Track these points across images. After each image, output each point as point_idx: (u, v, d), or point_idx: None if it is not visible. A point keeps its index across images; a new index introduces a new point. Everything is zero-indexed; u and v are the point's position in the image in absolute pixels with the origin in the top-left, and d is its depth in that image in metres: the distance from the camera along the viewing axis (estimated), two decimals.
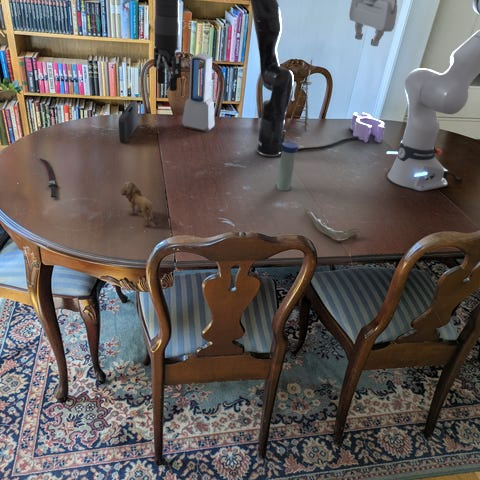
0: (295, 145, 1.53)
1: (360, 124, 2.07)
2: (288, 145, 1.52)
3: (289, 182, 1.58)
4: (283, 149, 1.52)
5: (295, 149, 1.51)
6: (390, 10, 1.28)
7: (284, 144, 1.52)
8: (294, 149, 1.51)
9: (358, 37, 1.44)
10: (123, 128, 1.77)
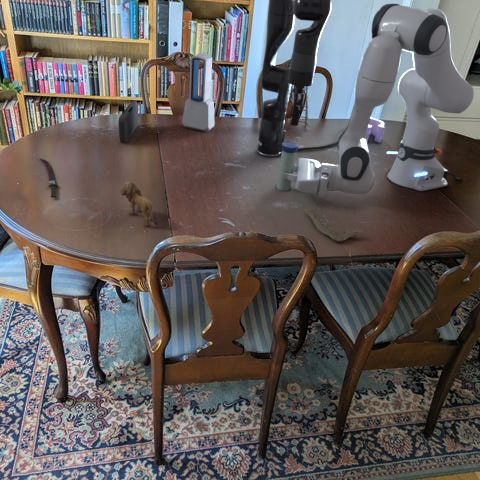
0: (295, 145, 1.53)
1: None
2: (288, 145, 1.52)
3: (289, 182, 1.58)
4: (283, 149, 1.52)
5: (295, 149, 1.51)
6: None
7: (284, 144, 1.52)
8: (294, 149, 1.51)
9: None
10: (123, 128, 1.77)
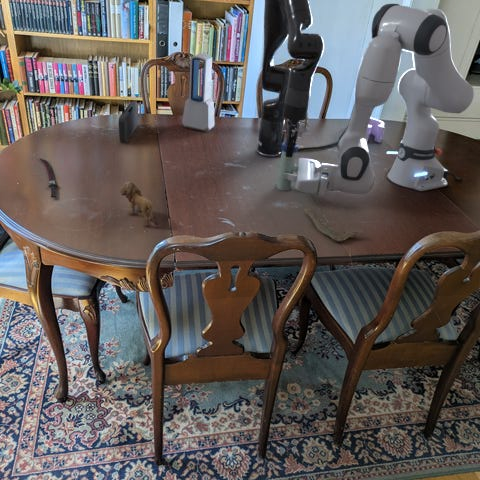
0: None
1: None
2: None
3: (289, 182, 1.58)
4: (283, 149, 1.52)
5: (295, 149, 1.51)
6: None
7: (284, 144, 1.52)
8: (294, 149, 1.51)
9: None
10: (123, 128, 1.77)
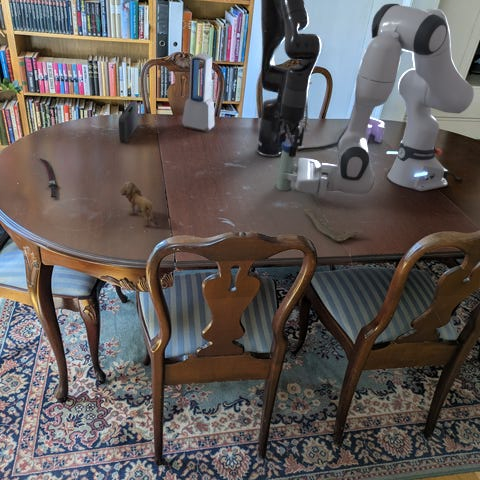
0: None
1: None
2: None
3: (289, 182, 1.58)
4: None
5: None
6: None
7: (289, 146, 1.51)
8: None
9: None
10: (123, 128, 1.77)
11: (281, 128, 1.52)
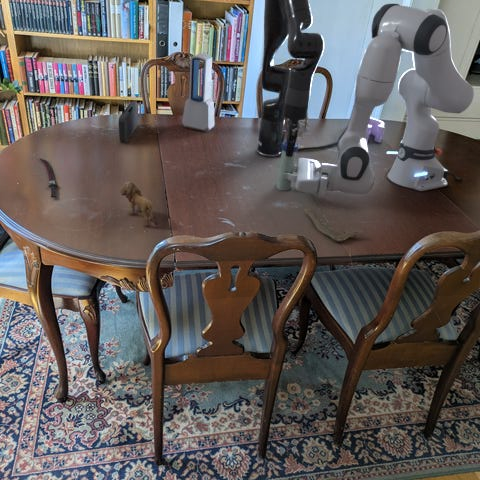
0: None
1: None
2: None
3: (289, 182, 1.58)
4: None
5: None
6: None
7: None
8: None
9: None
10: (123, 128, 1.77)
11: None
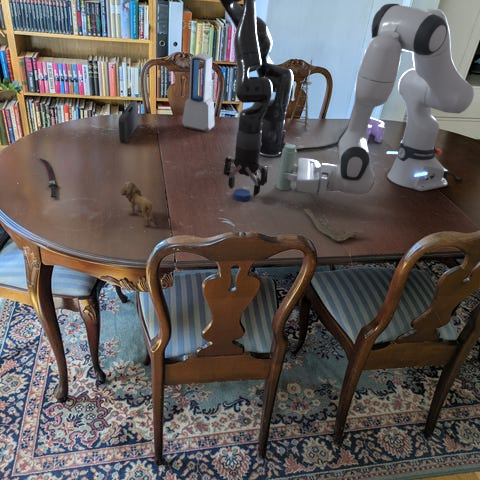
0: (238, 190, 1.52)
1: None
2: (245, 192, 1.52)
3: (289, 182, 1.58)
4: (249, 196, 1.52)
5: None
6: None
7: (246, 194, 1.50)
8: None
9: None
10: (123, 128, 1.77)
11: (235, 171, 1.47)
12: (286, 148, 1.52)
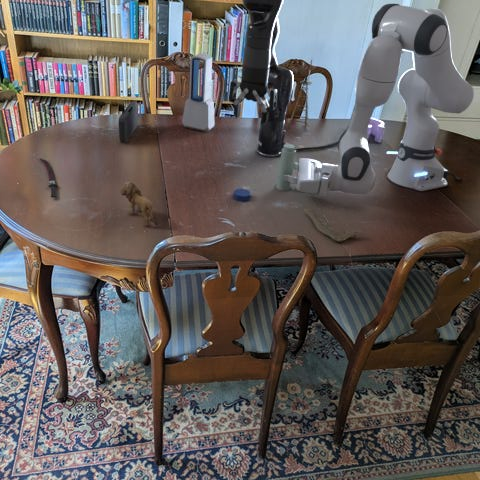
0: (238, 190, 1.52)
1: None
2: (245, 192, 1.52)
3: (289, 182, 1.58)
4: (249, 196, 1.52)
5: None
6: None
7: (246, 194, 1.50)
8: None
9: None
10: (123, 128, 1.77)
11: (241, 96, 1.34)
12: (285, 148, 1.52)
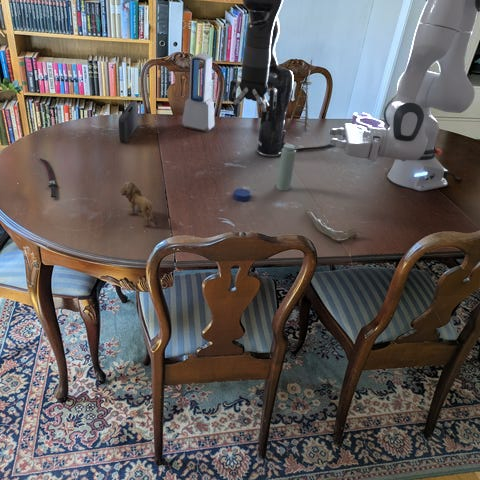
0: (238, 190, 1.52)
1: (360, 124, 2.07)
2: (245, 192, 1.52)
3: (289, 182, 1.58)
4: (249, 196, 1.52)
5: None
6: None
7: (246, 194, 1.50)
8: None
9: None
10: (123, 128, 1.77)
11: (241, 95, 1.34)
12: (285, 148, 1.52)
